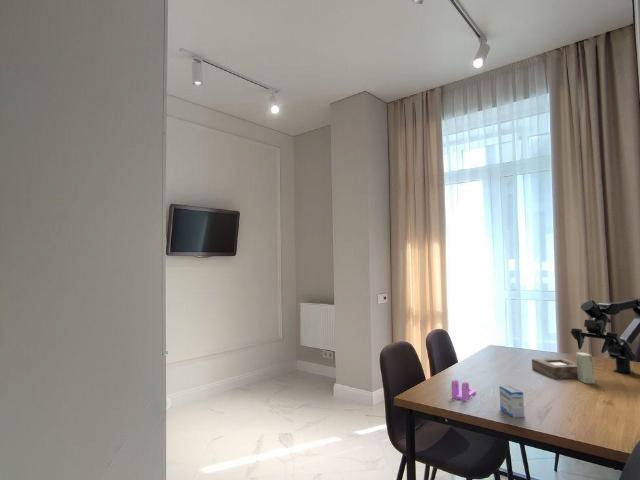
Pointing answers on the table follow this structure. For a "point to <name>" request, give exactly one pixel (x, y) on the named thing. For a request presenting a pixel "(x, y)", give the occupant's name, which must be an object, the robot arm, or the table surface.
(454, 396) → the bracket
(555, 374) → the holder
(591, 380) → the skincare box
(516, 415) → the medicine box
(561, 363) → the white square tile
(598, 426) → the table surface
